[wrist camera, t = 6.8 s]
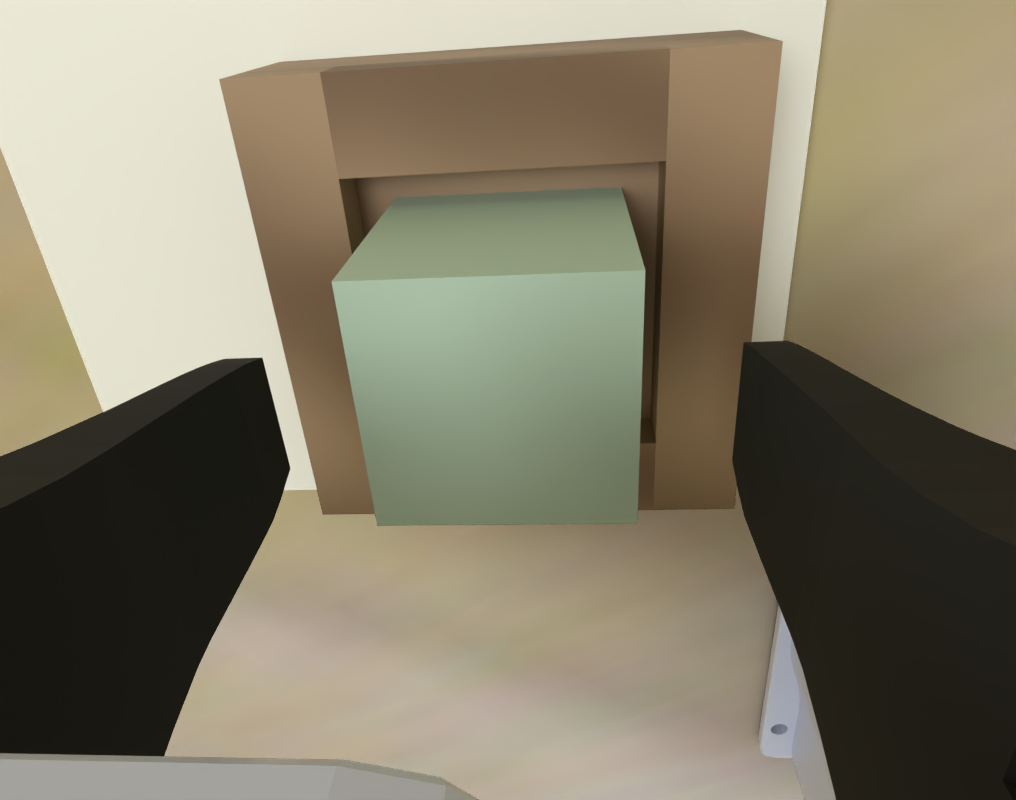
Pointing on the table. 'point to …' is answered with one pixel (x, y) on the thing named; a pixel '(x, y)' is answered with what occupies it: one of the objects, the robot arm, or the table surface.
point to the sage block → (498, 358)
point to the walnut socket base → (526, 167)
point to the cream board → (215, 167)
